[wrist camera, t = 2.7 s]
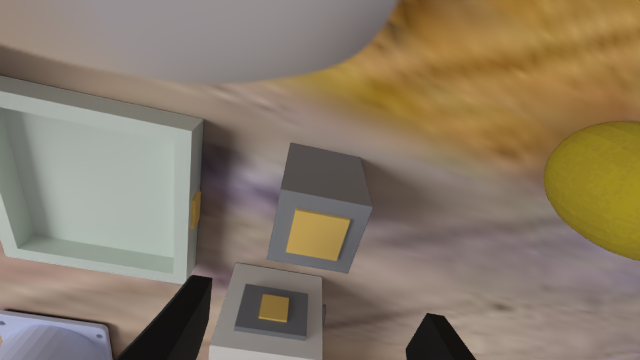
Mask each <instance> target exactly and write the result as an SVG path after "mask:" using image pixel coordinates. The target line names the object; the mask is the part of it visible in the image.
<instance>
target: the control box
mask: <svg viewBox="0 0 640 360" xmlns="http://www.w3.org/2000/svg"><path fill="white" fill-rule="evenodd" d="M325 315H326V306H325V305H323V304H322V277H319V276H313V275H307V274H301V273H295V272H289V271H283V270H277V269H271V268H265V267H259V266H253V265H247V264H241V263H236V265H235V268H234V272H233V275H232V278H231V281H230V284H229V287H228V290H227V293H226V296H225V300H224V303H223V306H222V309H221V312H220V315H219V318H218V321H217V325H216V328H215V331H214V334H213V337H212V340H211V343H210V349H209V359H208V360H322V327H323V325H324V321H325Z"/></svg>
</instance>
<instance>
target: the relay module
mask: <svg viewBox="0 0 640 360" xmlns="http://www.w3.org/2000/svg"><path fill="white" fill-rule="evenodd" d="M372 209H373V205H372V201H371V197H370V193H369V190H368V186H367V182H366V178H365V174H364V170H363V166H362V162H361V158H360V157H355V156H351V155H346V154H341V153H337V152H332V151H327V150H323V149H318V148H313V147H309V146H304V145H299V144H295V143H290V147H289V152H288V157H287V161H286V166H285V171H284V176H283V181H282V185H281V190H280V195H279V200H278V205H277V210H276V215H275V220H274V225H273V230H272V235H271V240H270V245H269V250H268V255H267V260H272V261H278V262H284V263H289V264H295V265H301V266H307V267H313V268H319V269H324V270H330V271H336V272H342V273H348V272H349V270H350V267H351V264H352V262H353V259H354V256H355V254H356V251H357V248H358V246H359V243H360V240H361V238H362V235H363V232H364V230H365V227H366V225H367V222H368V219H369V217H370V214H371V211H372Z"/></svg>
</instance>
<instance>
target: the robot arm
mask: <svg viewBox="0 0 640 360" xmlns="http://www.w3.org/2000/svg"><path fill="white" fill-rule="evenodd" d="M211 289H212V278H209V277H203V276H197V275H192V276H190V277H189V278H188V279H187V280H186V282H185V283H184V284H183V286H182V287H181V288H180V289H179V291H178V292H177V293H176V294H175V296H174V297H173V298H172V299H171V300H170V302H169V303H168V304H167V305H166V306H165V307H164V308H163V310H162V311H161V312H160V313H159V314H158V315H157V316H156V317H155V318H154V320H153V321H152V322H151V323H150V324H149V325H148V326H147V327H146V328H145V329H144V330H143V331H142V333H141V334H140V335H139V336H138V337H137V338H136V339H135V340H134V341H133V342H132V343H131V344H130V345H129V346H128V347H127V348H126V349H125V350H124V351H123V352H122V353H121V354H120V355H119V356H118V357H117V358H116V359H115V360H196V358H197V355H198V353H199V350H200V346H201V343H202V340H203V337H204V334H205V330H206V327H207V324H208V320H209V311H210V300H211ZM0 335H1V338H2V340H3V343H2V344H1V345H0V360H113V359H112V352H111V345H110V338H109V331H108V328H107V327H106V326H105V325H102V324H96V323H89V322H82V321H75V320H68V319H61V318H54V317H46V316H39V315H32V314H25V313H18V312H11V311H4V310H0ZM406 357H407V360H476V359H475V357H474V356H473V355H472V353H471V352H470V351H469V349H468V348H467V347H466V345H465V344H464V342H463V341H462V340H461V338H460V337H459V335H458V334H457V333H456V331H455V330H454V329H453V327H452V326H451V325H450V323H449V322H448V321H447V319H446V318H445V317H444V316H442V315H436V314H430V313H427V314H426V316H425V317H424V319H423V321H422V322H421V324H420V326H419V327H418V329H417V331H416V333H415V334H414V336H413V338H412V339H411V341H410V343H409V344H408V346H407V348H406Z"/></svg>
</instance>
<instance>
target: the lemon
mask: <svg viewBox="0 0 640 360" xmlns="http://www.w3.org/2000/svg"><path fill="white" fill-rule="evenodd" d="M544 186H545V191H546V195H547V197H548V199H549V201H550V203H551V205H552V206H553V208H554V209H555V211H556V212H557V214H558V215H559V216H560V217H561V219H562V220H563V221H564V222H565V223H566V224H567V225H569V226H570V227H571V228H572V229H574V230H575V231H577V232H578V233H579V234H581V235H582V236H583V237H585V238H586V239H588V240H589V241H591V242H593V243H594V244H596V245H598V246H600V247H602V248H604V249H606V250H608V251H610V252H613V253H616V254H618V255H621V256H624V257H627V258H631V259H634V260H639V261H640V122H638V121H616V122H606V123H601V124H597V125H593V126H589V127H587V128H584V129H582V130H580V131H578V132H576V133H574V134H572V135H571V136H569V137H568V138H566V139H565V140H564V141H563V142H561V143H560V144H559V145H558V146H557V147H556V148H555V150H554V151H553V153H552V154H551V155H550V157H549V159H548V161H547V164H546V166H545V172H544Z"/></svg>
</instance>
